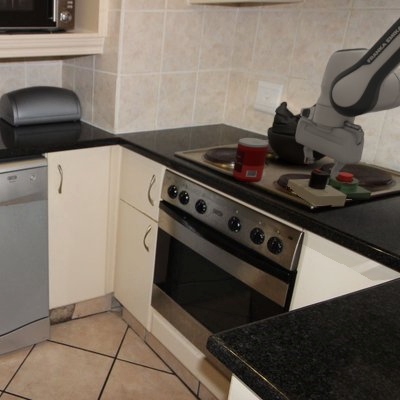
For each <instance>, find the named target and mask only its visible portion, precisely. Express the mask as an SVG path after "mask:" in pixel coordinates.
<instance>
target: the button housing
mask: <svg viewBox="0 0 400 400" xmlns="http://www.w3.org/2000/svg"><path fill="white" fill-rule="evenodd" d="M336 178H337V177H331V176H329V177H328V180H327V185H329V186H332V188H334V189H336V190H338V191H340V192H342V193H344V194H345V195H347V196H346V199H352V200H356V201H369V200H370V199H371V195H372V191H370V190H368V189H367V188H364V187H362V186H360V185H359V183H360V181H359V179H357V178H355V177H353V179H352V182H346V181H341V180H338V179H336Z"/></svg>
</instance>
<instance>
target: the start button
mask: <svg viewBox="0 0 400 400" xmlns="http://www.w3.org/2000/svg"><path fill="white" fill-rule="evenodd" d="M353 178H354V174H353V173H350V172H346V171H339V174H338V176H337V178H336V179H338V180H341V181H346V182H352V179H353Z"/></svg>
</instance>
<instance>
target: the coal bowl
mask: <svg viewBox="0 0 400 400" xmlns="http://www.w3.org/2000/svg"><path fill="white" fill-rule="evenodd" d="M315 106H316V103H314V104H313V105H311V107H315ZM274 112H275V114H274V116H273V120H272V125H271V126H269V127H268V128H267V132H266V133H267V134H266V135H267V142H268V145H269V147H270V148H271V150H272V151H273V152H274V153H275V155H276V156H277V157H279V158H281V159H282V160H283V161H285V162H289V163H292V164H297V165H305V164H306V163H304V159H305V155H304V145H302V144H300V143H298V142H296V138H295V135H296V130H297V125H298V122H299V120H300V118H301V117H302V116H300V113H298V114H294V113H293V112H292V111H291V110H289V108H288V102H287V101H282V102H281V103H280V104H279V106H277V107H276V108H275V110H274ZM325 157H327V156H326V155H324V154H322V153H319V152H317V151H315V150H313V158H315V159H314V163H315V162H318V161H320V160H322V159H323V158H325ZM306 165H307V164H306Z"/></svg>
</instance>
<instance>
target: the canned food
mask: <svg viewBox="0 0 400 400" xmlns="http://www.w3.org/2000/svg"><path fill="white" fill-rule="evenodd" d="M268 148H269V141H268V140H265V139H261V138H257V137H255V138H254V137H243V138H240V139H238V142H237V148H236V153H235V157H234V158H235V159H234V166H233V170H232V177H233V178H234V179H235V180H238V181H241V182H245V183H255V182H259V181H261V179H262V178H263V173H264V167H265V163H266V159H267V154H268ZM246 181H248V182H246Z"/></svg>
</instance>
